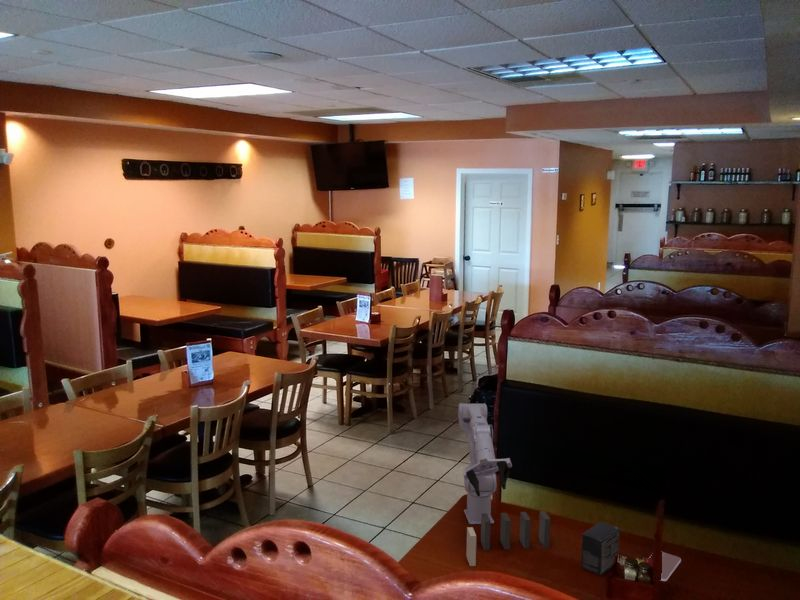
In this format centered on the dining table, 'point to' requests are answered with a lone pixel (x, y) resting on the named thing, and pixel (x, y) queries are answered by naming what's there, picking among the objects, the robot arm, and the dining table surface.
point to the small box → (600, 547)
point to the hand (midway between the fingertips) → (490, 490)
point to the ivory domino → (471, 546)
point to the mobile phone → (668, 565)
